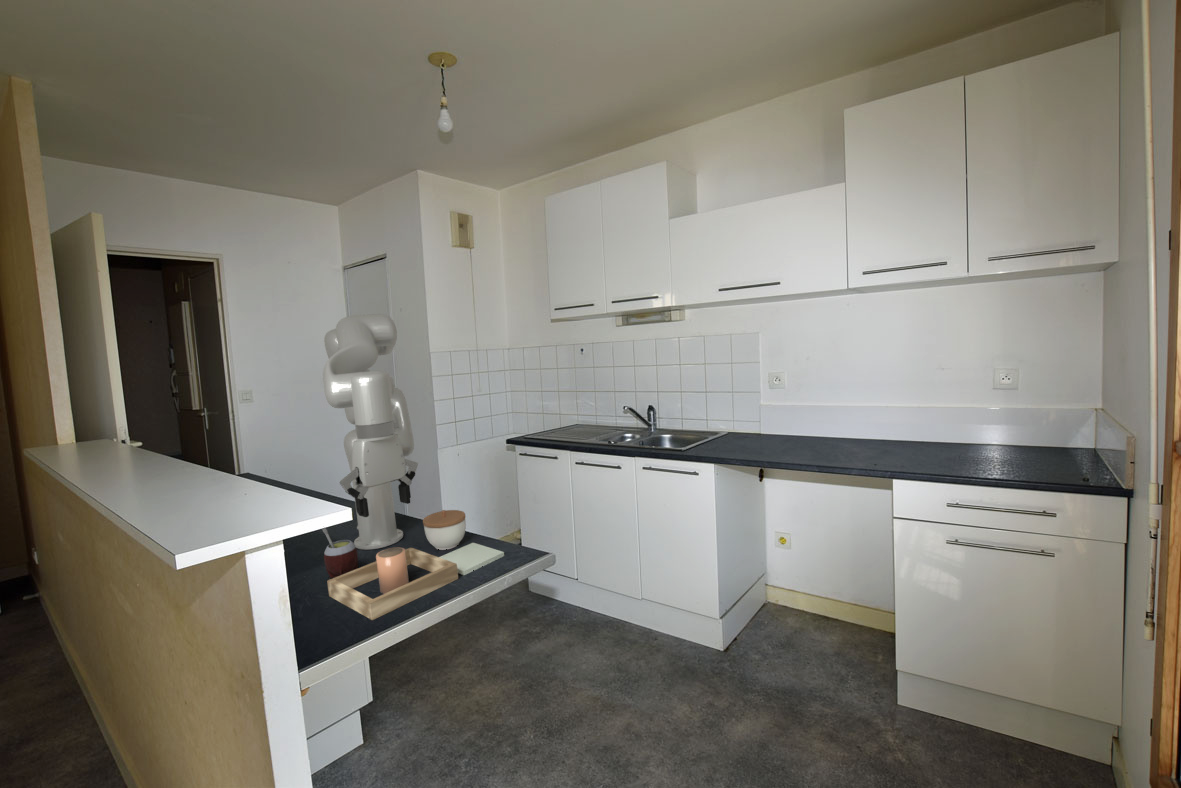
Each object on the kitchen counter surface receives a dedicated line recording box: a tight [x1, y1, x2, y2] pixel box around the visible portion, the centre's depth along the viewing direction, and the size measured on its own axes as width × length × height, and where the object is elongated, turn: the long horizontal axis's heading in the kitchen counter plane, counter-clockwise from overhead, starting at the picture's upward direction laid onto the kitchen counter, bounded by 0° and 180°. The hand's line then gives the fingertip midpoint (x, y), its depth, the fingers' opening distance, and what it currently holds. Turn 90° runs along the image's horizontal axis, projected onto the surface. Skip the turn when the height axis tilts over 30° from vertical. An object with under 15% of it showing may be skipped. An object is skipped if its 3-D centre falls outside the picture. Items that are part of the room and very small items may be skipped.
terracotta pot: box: [375, 546, 410, 595], centre depth 118 cm, size 6×6×8 cm
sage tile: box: [438, 542, 505, 576], centre depth 130 cm, size 12×12×1 cm
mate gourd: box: [322, 527, 359, 580], centre depth 125 cm, size 8×8×15 cm
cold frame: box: [326, 547, 459, 621], centre depth 118 cm, size 18×20×4 cm
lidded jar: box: [422, 509, 467, 551], centre depth 140 cm, size 11×11×9 cm
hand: (385, 509), depth 116 cm, fingers open, 9 cm apart
